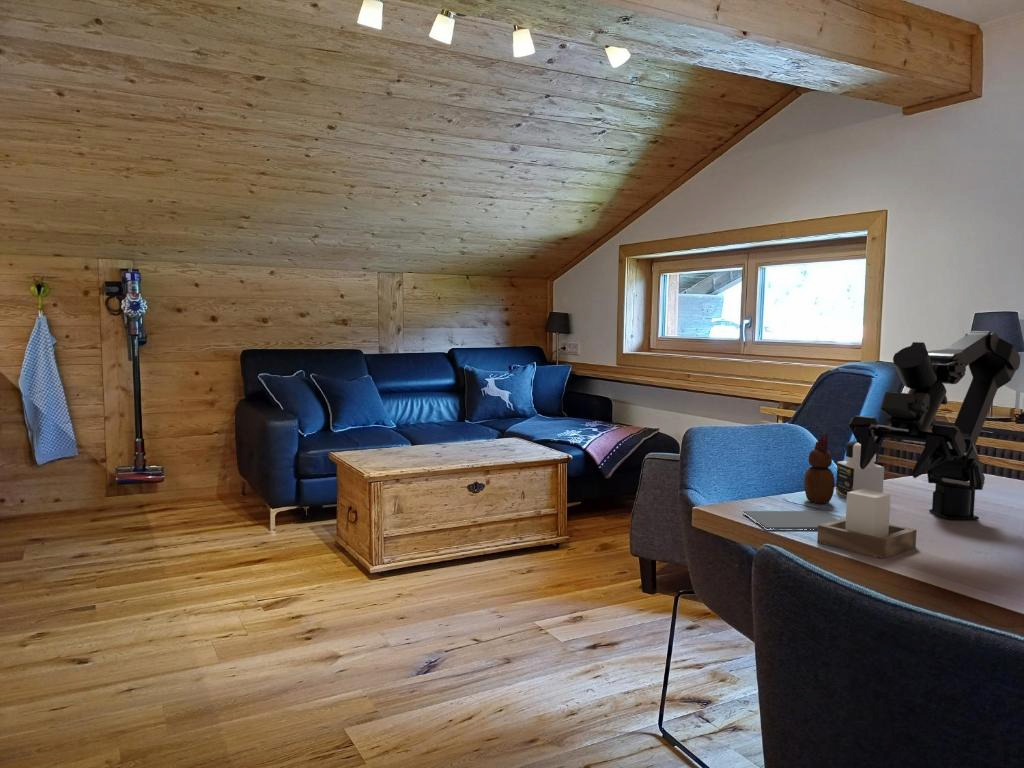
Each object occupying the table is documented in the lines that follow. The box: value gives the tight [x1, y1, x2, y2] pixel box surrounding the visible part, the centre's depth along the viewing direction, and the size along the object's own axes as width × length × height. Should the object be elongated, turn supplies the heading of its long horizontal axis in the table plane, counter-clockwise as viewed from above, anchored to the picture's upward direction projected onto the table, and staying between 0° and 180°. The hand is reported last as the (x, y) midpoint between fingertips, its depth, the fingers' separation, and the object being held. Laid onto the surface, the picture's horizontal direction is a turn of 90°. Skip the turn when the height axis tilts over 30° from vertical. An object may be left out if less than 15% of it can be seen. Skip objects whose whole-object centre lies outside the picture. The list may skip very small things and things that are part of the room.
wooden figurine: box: [803, 433, 835, 505], centre depth 163 cm, size 7×6×15 cm
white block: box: [845, 489, 891, 538], centre depth 132 cm, size 5×5×9 cm
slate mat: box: [742, 510, 839, 531], centre depth 147 cm, size 16×12×1 cm
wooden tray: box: [816, 517, 918, 559], centre depth 133 cm, size 11×11×3 cm
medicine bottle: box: [835, 440, 885, 498], centre depth 170 cm, size 7×7×12 cm
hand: (886, 471), depth 135 cm, fingers open, 9 cm apart
